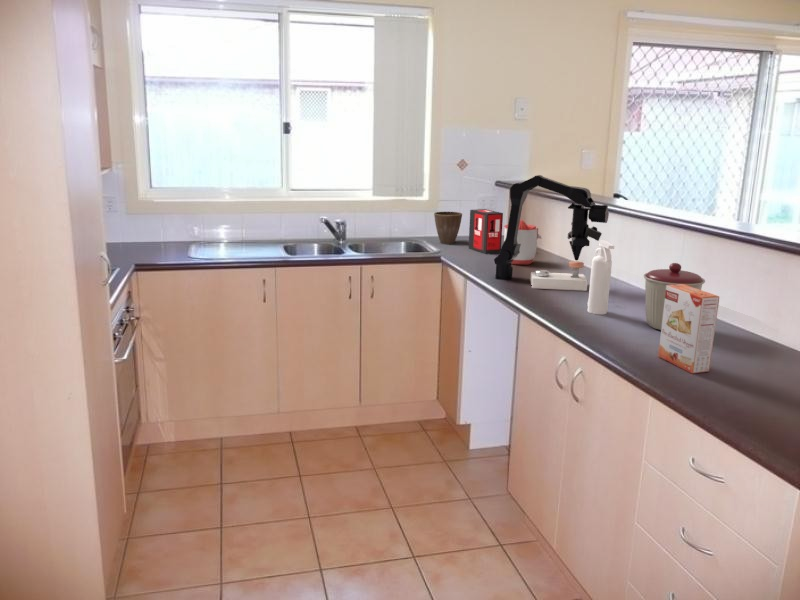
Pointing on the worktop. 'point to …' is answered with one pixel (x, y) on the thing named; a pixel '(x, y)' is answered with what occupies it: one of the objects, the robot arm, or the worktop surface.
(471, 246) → the cleaning product box
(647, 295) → the canister
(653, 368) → the worktop surface
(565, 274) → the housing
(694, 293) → the cracker box
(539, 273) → the plug
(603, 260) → the white spray bottle
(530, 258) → the citrus juicer
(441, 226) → the plant pot
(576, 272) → the terracotta plug
